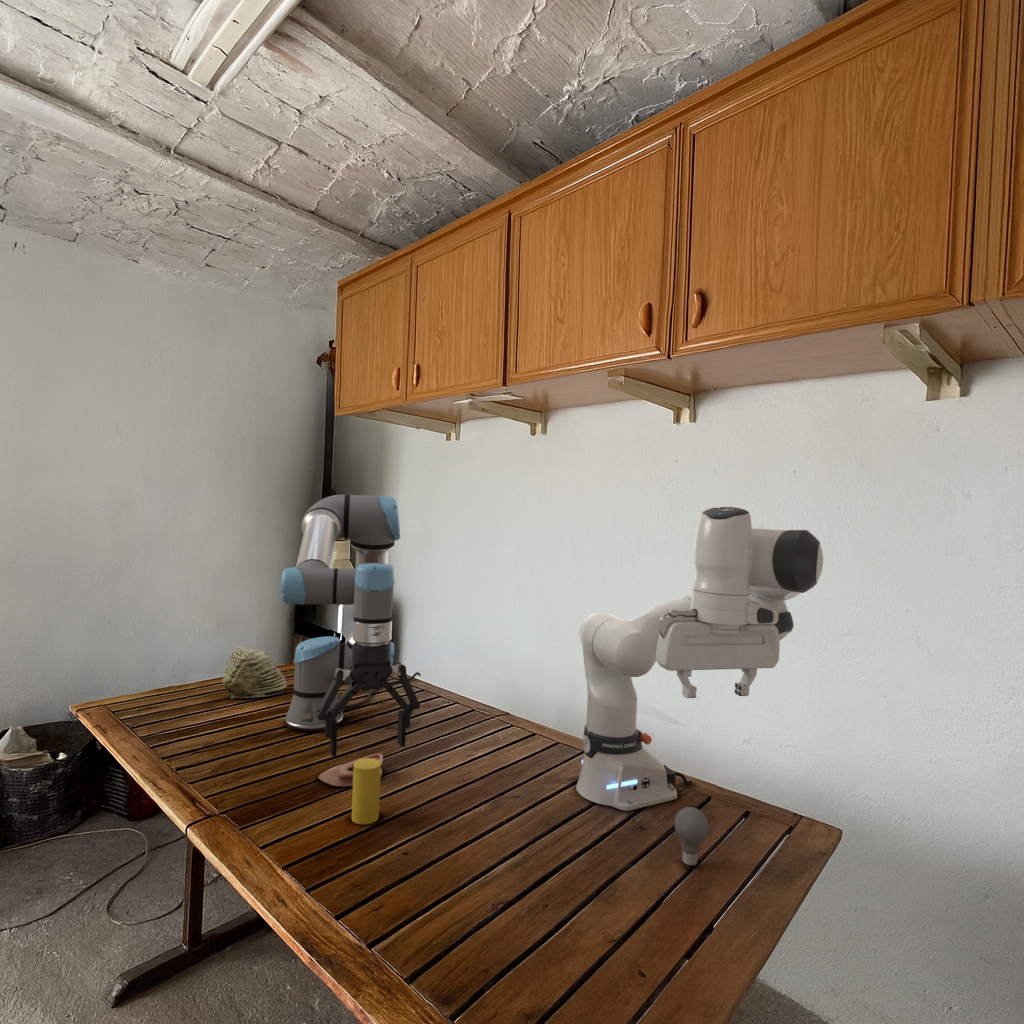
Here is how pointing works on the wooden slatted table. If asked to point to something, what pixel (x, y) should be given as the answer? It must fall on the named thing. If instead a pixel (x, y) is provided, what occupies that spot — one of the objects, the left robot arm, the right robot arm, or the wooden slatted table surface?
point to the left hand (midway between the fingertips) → (367, 749)
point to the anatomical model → (344, 772)
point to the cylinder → (366, 791)
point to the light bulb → (691, 832)
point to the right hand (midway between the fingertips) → (715, 696)
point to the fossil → (252, 674)
